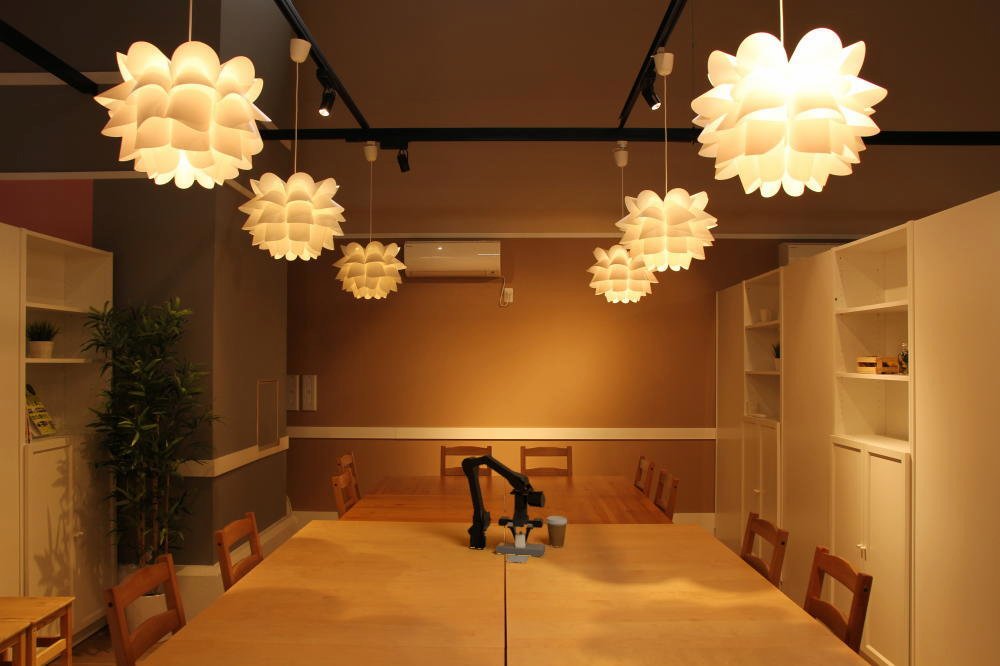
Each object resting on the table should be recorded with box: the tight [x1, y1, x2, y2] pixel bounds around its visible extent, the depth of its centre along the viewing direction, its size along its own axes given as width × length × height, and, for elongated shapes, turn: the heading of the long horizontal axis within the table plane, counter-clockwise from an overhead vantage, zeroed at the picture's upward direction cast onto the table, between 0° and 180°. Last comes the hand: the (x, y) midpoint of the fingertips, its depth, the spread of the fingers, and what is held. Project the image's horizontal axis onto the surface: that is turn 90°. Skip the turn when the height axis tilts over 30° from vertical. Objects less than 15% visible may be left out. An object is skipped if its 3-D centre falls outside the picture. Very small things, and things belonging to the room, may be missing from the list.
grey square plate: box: [505, 555, 529, 563], centre depth 251 cm, size 8×8×1 cm
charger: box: [514, 530, 527, 548], centre depth 260 cm, size 4×4×8 cm
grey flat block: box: [495, 541, 546, 557], centre depth 260 cm, size 20×8×4 cm, turn 79°
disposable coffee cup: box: [545, 515, 568, 547], centre depth 272 cm, size 10×10×12 cm
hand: (520, 542), depth 260 cm, fingers closed on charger, 4 cm apart
